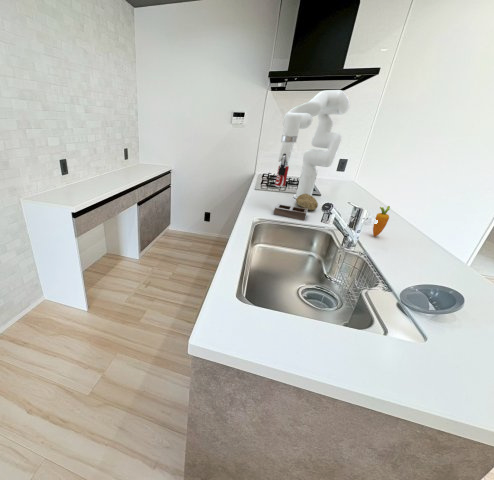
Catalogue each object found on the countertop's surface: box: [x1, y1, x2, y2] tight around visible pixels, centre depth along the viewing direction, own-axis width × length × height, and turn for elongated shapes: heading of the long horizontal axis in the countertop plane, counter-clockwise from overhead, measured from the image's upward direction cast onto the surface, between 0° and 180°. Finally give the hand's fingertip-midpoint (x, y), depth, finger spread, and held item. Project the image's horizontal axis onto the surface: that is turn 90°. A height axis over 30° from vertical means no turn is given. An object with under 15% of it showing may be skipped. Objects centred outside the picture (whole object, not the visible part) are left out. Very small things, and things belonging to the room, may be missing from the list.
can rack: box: [273, 203, 309, 221], centre depth 144 cm, size 9×16×4 cm, turn 59°
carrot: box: [372, 205, 391, 237], centre depth 118 cm, size 5×5×15 cm
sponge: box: [295, 194, 319, 211], centre depth 157 cm, size 13×8×20 cm
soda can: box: [274, 164, 290, 188], centre depth 144 cm, size 5×5×12 cm
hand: (282, 173), depth 144 cm, fingers closed on soda can, 5 cm apart
